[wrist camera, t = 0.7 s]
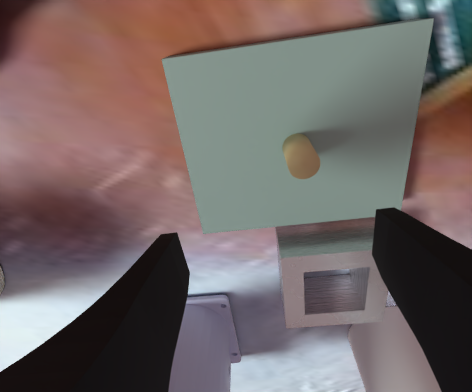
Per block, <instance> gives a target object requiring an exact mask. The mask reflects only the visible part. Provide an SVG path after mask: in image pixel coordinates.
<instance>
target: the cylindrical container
mask: <svg viewBox="0 0 472 392" xmlns="http://www.w3.org/2000/svg"><path fill="white" fill-rule="evenodd" d="M348 339H349V343H350V346H351V348H352V351H353V354H354V357H355V360H356V363H357V366H358V369H359V372H360V375H361V378H362V381H363V384H364V387H365V390H366V392H442V391H441V389H440V387H439V385H438V382H437V380H436V378H435V376H434V374H433V371H432V369H431V367H430V365H429V363H428V361H427V358H426V356H425V354H424V352H423V350H422V348H421V346H420V344H419V342H418V341H417V339H416V337H415V335H414V333H413V332H412V330H411V328H410V327H409V325H408V323H407V321H406V320H405V318H404V316H403V315H402V313H401V311H400V309H399V308H398V306H390V307H385V312H384V318H383V322H372V323H358V324H352V326H351V327H350V329H349V333H348Z"/></svg>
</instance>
